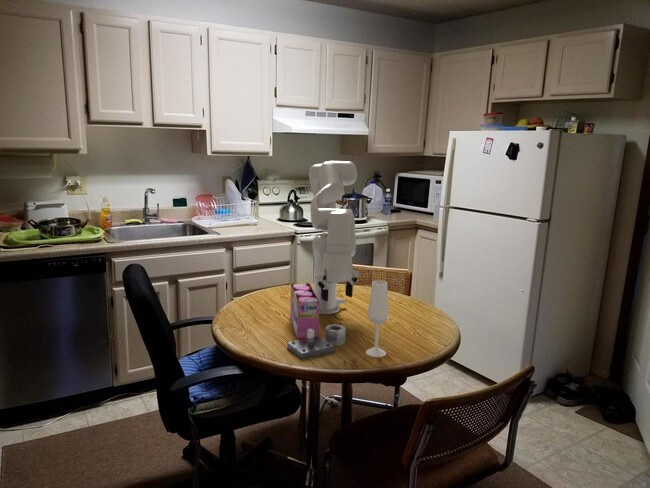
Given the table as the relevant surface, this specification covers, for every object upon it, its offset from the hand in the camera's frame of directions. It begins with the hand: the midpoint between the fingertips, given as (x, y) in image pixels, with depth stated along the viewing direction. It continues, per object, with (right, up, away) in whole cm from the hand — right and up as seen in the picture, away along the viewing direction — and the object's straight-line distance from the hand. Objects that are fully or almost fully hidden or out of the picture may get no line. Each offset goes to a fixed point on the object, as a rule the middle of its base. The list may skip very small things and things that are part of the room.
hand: (336, 298), depth 162 cm
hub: (0, -15, +4) cm, 16 cm away
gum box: (-12, -13, +17) cm, 25 cm away
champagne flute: (+13, -18, -4) cm, 22 cm away
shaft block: (-9, -17, -4) cm, 19 cm away
